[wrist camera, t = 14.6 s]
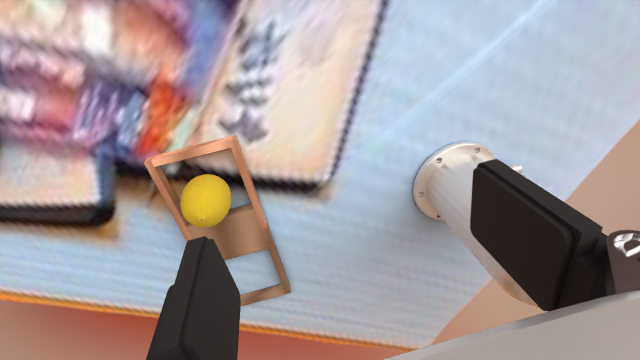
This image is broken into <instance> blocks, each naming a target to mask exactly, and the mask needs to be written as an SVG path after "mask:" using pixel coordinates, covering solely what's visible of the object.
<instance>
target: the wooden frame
mask: <svg viewBox="0 0 640 360" xmlns="http://www.w3.org/2000/svg"><path fill="white" fill-rule="evenodd" d="M227 148H231V150H232V153H233V155H234V158H235V161H236V163H237V166H238V169H239V171H240V174H241V177H242V179H243V182H244V185H245V187H246V190H247V192H248V195H249V198H250V200H251V203H252V204H248V205H244V206H240V207H236V208H233V209H229V211H228V213H227V215H226V216H225V217H224V219H223V220H222V221H221V222H219V223H218V224H217V225H214V226H212V227H207V228H201V227H197V226H194V225H192V224H191V223H189V222H188V221H187V220H186V219H185V218H184V216H183V214H182V211H181V205H180V203H179V201H178V200H177V198H176V196H175V194H174V192H173V190H172V188H171V186H170V184H169V182H168V180H167V178H166V176H165V175H164V173H163V171H162V169H161V167H160V165H164V164H168V163H172V162H176V161H180V160H184V159H188V158H192V157H196V156H200V155H204V154H208V153H212V152H216V151H220V150H224V149H227ZM144 164H145V166H146V167H147V169H148V171H149V173H150V175H151V177H152V178H153V180H154V182H155V184H156V186H157V188H158V189H159V191H160V193H161V195H162V197H163V199H164V200H165V202H166V204H167V206H168V208H169V209H170V211H171V213H172V215H173V217H174V219H175V220H176V222H177V224H178V226H179V228H180V230H181V231H182V233H183V235H184V237H185V239H186V241H188V240H191V239H195V238H199V237H203V236H206V237H207V238H208V239H213V240H214V241H215V243H216V245H217V247H218V249H219V251H220V253H221V255H222V257H223V259H224V260H227V259H231V258H234V257H238V256H242V255H245V254H249V253H253V252H257V251H260V250H264V249H268V248H269V251H270V253H271V256H272V259H273V261H274V264H275V267H276V269H277V272H278V275H279V277H280V280H281V283H282V284H279V285H275V286H272V287H268V288H264V289H261V290H257V291H254V292H250V293H246V294H243V295H240V298H241V305H240V306H244V305H247V304H251V303H254V302H258V301H262V300H265V299H269V298H272V297H276V296H280V295H283V294H287V293H290V292H291V291H290V284H289V281H288V279H287V276H286V273H285V270H284V268H283V265H282V262H281V259H280V256H279V254H278V251H277V248H276V245H275V243H274V240H273V237H272V234H271V231H270V229H269V226H268V223H267V220H266V218H265V215H264V212H263V209H262V206H261V204H260V201H259V198H258V195H257V193H256V190H255V187H254V184H253V181H252V179H251V176H250V173H249V170H248V168H247V165H246V162H245V159H244V156H243V154H242V151H241V148H240V145H239V143H238V140H237V137H236V135H235V136H231V137H227V138H223V139H219V140H215V141H211V142H207V143H203V144H199V145H195V146H191V147H187V148H183V149H179V150H175V151H171V152H167V153H163V154H159V155H155V156H151V157H148V158H147V159H146V161H145V162H144Z"/></svg>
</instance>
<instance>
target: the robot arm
mask: <svg viewBox="0 0 640 360" xmlns="http://www.w3.org/2000/svg"><path fill="white" fill-rule="evenodd" d="M522 171H523V170H522V166H521V165H520V164H515V165H511V166H507V165H505V164H504V163H502V162H501V161H499V160H497V159H496V158H495V157H494V155H493V153H492V152H491V151H489V150H488V149H487V148H485V147H484V146H482V145H480V144H478V143H475V142H457V143H454V144H450V145H448V146H446V147H443V148H442V149H440V150H438V151H437V152H435V153H434V154H433V155H432V156H431V157H429V158H428V159H427V160H426V162H425V163H424V164H423V165H422V167H421V168H420V170H419V171H418V173H417V176H416V178H415V181H414V186H413V196H414V200H415V202H416V204H417V206H418V207H419V208H420V210H421V211H422V212H423V213H424V214H425V215H427V216H429V217H431V218H433V219H437V220H444V221H445V223H446V224H447V225H448V226H449V227H450V228H451V230H452V231H453V232H454V233H455V234H456V235H457V236H458V238H459V239H460V240H461V241H462V242H463V243H464V245H465V246H466V247H467V248H468V249H469V250H470V252H471V253H472V254H473V255H474V256H475V257H476V259H477V260H478V261H479V262H480V263H481V264H482V266H483V267H484V268H485V269H486V270H487V271H488V273H489V274H490V275H491V276H492V277H493V278H494V279H495V281H496V282H497V283H498V284H499V285H500V286H501V287H502V288H503V289H504V290H505V291H506V292H507V293H508V294H510V295H511V296H512V297H514V298H516V299H518V300H519V301H522V302H524V303H527V304H529V305H533V306H536V307H540V308H541V309H542V310H544V311H548V312H546V313H543V314H539V315H535V316H532V317H528V318H525V319H522V320H518V321H514V322H511V323H507V324H504V325H500V326H497V327H493V328H490V329H486V330H483V331H479V332H476V333H472V334H469V335H465V336H462V337H459V338H455V339H452V340H448V341H445V342H441V343H438V344H435V345H431V346H428V347H424V348H421V349H417V350H414V351H411V352H407V353H404V354H401V355H397V356H394V357H390V358H387V359H384V360H640V231H638V230H618V231H615V232H612V233H611V234H610V235H609V236H606V235H605V234H603V233H602V232H601V231H602V228H603V227H601V226H600V225H598V224H597V223H595V222H594V221H592V220H591V219H589V218H588V217H586V216H584V215H583V214H581V213H580V212H578V211H577V210H575V209H574V208H572V207H570V206H569V205H567V204H566V203H564V202H563V201H561V200H560V199H558V198H557V197H555V196H554V195H552V194H550V193H549V192H547V191H546V190H544V189H543V188H541V187H540V186H538V185H536V184H535V183H533V182H532V181H530V180H529V179H528V178H527V177H526V176H525V175H521V174H519V173H522ZM240 305H241V298H240V293H239V290H238V288H237V286H236V284H235V282H234V280H233V278H232V276H231V274H230V272H229V270H228V268H227V265H226V263H225V261H224V259H223V257H222V255H221V253H220V251H219V249H218V247H217V245H216V243H215V241H214V240H213V239H208V238H207V237H206V236H203V237H199V238H195V239H191V240H188V241H187V244H186V247H185V250H184V254H183V257H182V260H181V264H180V267H179V270H178V273H177V277H176V280H175V283H174V285H172V286H171V287H170V288H169V290H168V292H167V295H166V298H165V301H164V305H163V308H162V311H161V314H160V317H159V320H158V323H157V327H156V330H155V333H154V336H153V339H152V342H151V345H150V349H149V352H148V355H147V358H146V360H237V354H238V338H239V321H240Z"/></svg>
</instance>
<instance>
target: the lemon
mask: <svg viewBox="0 0 640 360" xmlns="http://www.w3.org/2000/svg"><path fill="white" fill-rule="evenodd" d="M231 199H232V196H231V192H230V188H229V187H228V185H227V183H226V182H225V181H224V180H223V179H221V178H220V177H218V176H215V175H210V174H205V175H200V176H197V177H195V178H194V179H192V180H191V181H190V182H189V183H188V184H187V185H186V186H185V188H184V190H183V192H182V195H181V202H180V205H181V211H182V214H183V216H184V218H185V219H186V220H187V221H188V222H189V223H191V224H192V225H194V226H197V227H201V228H207V227H212V226H214V225H217V224H218V223H219V222H221V221H222V220H223V219H224V217H225V216H226V215H227V213H228V211H229V209H230V206H231Z"/></svg>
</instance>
